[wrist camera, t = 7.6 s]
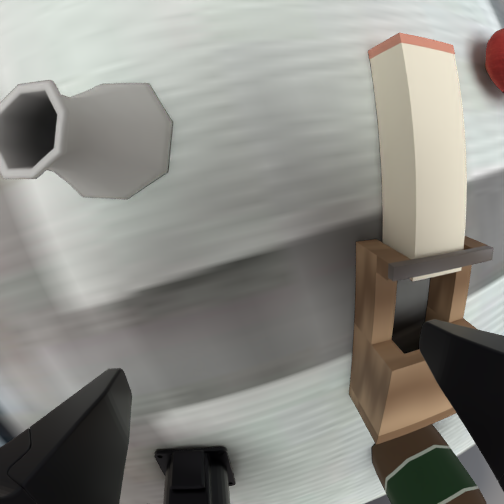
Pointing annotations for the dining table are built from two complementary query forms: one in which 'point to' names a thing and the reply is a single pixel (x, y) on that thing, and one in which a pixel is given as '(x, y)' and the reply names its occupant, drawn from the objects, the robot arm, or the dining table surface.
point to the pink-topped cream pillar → (420, 146)
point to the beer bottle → (423, 470)
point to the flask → (86, 137)
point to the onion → (496, 59)
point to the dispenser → (387, 352)
